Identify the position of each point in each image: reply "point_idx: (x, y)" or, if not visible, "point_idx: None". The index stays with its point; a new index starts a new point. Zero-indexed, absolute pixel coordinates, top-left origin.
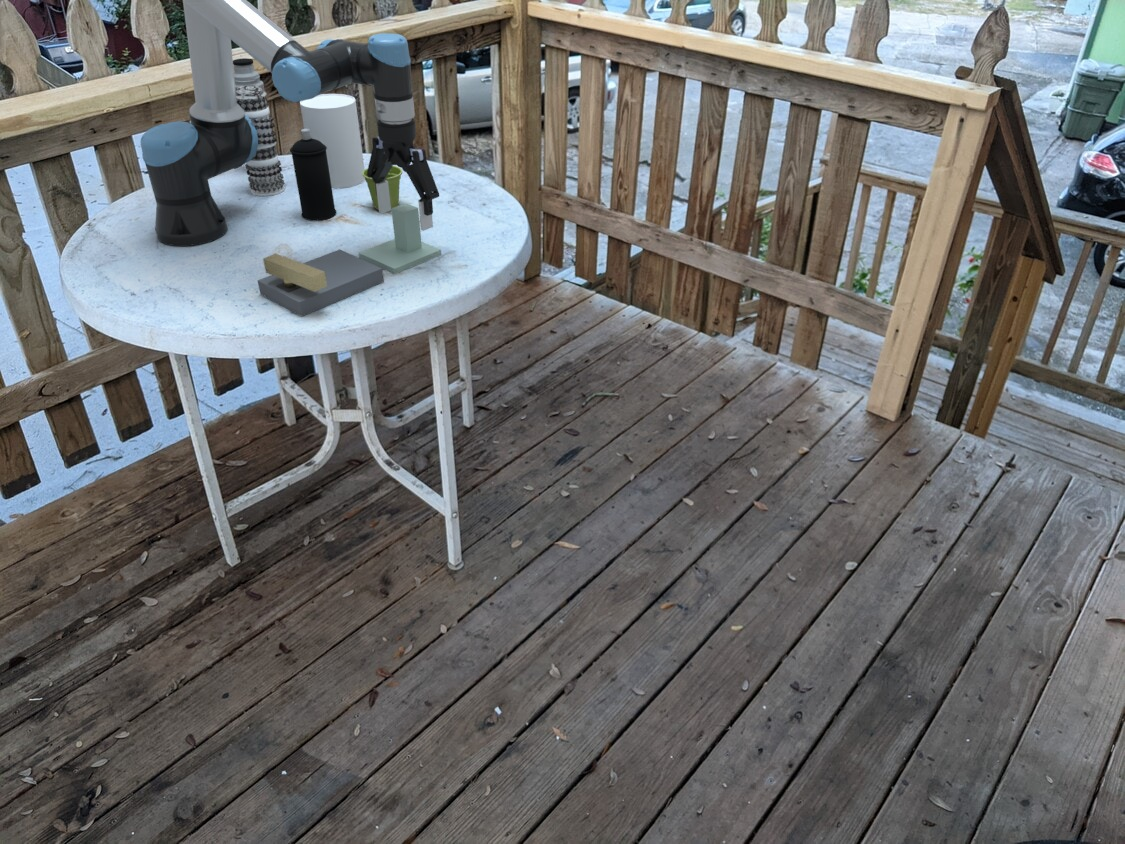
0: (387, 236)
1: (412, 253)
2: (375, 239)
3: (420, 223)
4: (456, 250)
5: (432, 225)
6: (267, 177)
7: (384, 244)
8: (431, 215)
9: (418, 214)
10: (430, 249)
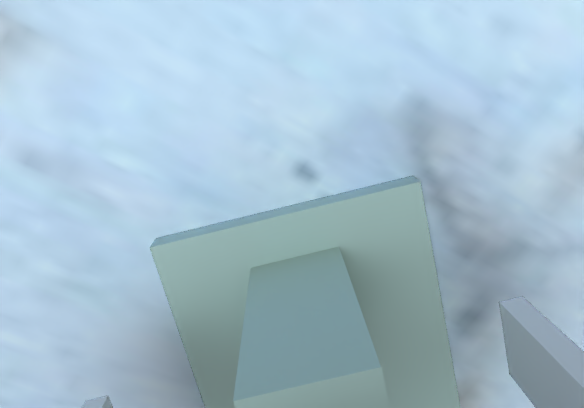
0: (73, 289)
1: (375, 311)
2: (81, 345)
3: (532, 401)
4: (415, 88)
5: (530, 305)
6: None
7: (208, 369)
8: (572, 345)
9: (370, 339)
10: (386, 223)
